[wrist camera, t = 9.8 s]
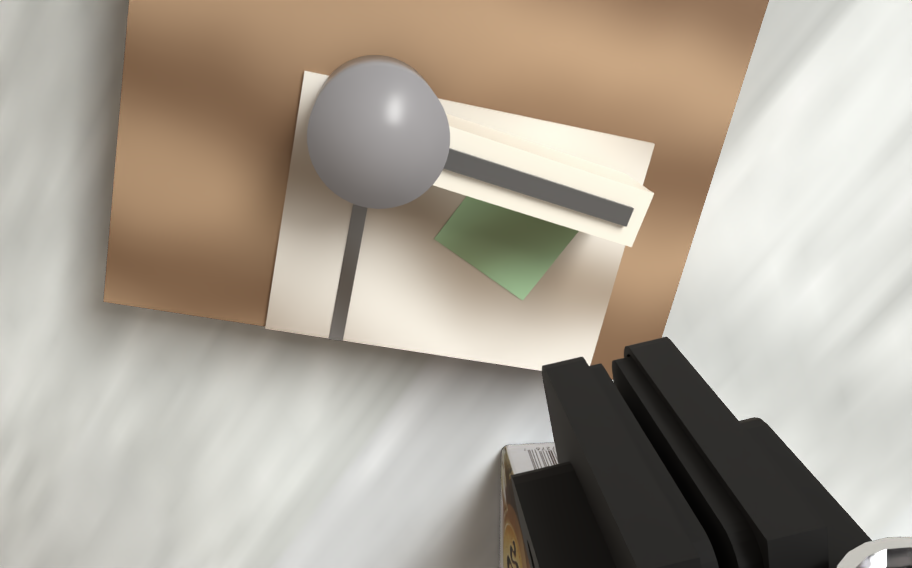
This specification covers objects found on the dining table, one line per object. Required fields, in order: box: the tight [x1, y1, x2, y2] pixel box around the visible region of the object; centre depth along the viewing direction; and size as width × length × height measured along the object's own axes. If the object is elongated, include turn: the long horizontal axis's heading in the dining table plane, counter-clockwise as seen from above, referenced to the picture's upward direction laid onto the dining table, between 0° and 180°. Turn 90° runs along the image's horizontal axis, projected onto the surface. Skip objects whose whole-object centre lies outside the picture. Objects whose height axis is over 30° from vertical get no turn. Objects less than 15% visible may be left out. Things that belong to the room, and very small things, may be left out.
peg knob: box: [307, 55, 654, 247], centre depth 26 cm, size 10×4×4 cm, turn 71°
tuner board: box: [103, 0, 769, 380], centre depth 29 cm, size 16×20×4 cm
